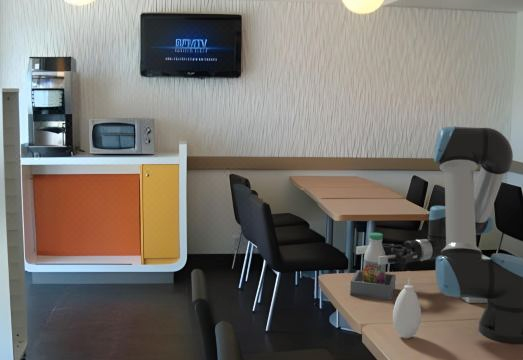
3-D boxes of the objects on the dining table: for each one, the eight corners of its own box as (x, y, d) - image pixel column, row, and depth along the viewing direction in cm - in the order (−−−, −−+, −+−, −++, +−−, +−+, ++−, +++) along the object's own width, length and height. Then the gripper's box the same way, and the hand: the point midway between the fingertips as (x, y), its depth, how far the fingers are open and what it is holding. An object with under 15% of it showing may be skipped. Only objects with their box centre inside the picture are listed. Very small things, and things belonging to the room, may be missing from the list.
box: (391, 300, 201) (391, 286, 200) (350, 295, 205) (350, 281, 205) (394, 288, 214) (395, 274, 214) (356, 283, 218) (357, 270, 218)
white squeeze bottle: (390, 330, 175) (393, 272, 172) (417, 332, 174) (421, 273, 172) (393, 341, 167) (397, 280, 165) (421, 343, 166) (425, 282, 164)
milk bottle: (362, 284, 214) (364, 230, 211) (383, 286, 213) (386, 231, 210) (362, 291, 206) (365, 235, 203) (385, 293, 205) (388, 237, 202)
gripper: (438, 270, 204) (388, 276, 196) (394, 251, 227) (347, 256, 218) (440, 249, 203) (389, 254, 195) (395, 232, 226) (348, 236, 217)
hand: (367, 255), depth 206 cm, fingers open, 13 cm apart
